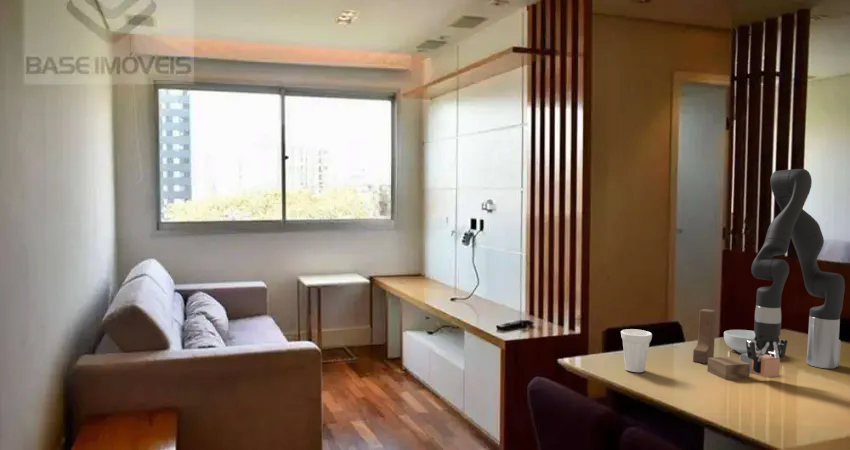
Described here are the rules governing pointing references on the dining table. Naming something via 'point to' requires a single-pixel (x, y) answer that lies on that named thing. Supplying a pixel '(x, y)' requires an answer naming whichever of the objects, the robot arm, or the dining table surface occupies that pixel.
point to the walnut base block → (728, 368)
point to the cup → (635, 348)
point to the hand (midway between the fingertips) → (765, 371)
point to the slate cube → (747, 360)
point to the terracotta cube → (768, 366)
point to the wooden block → (705, 336)
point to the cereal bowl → (738, 339)
